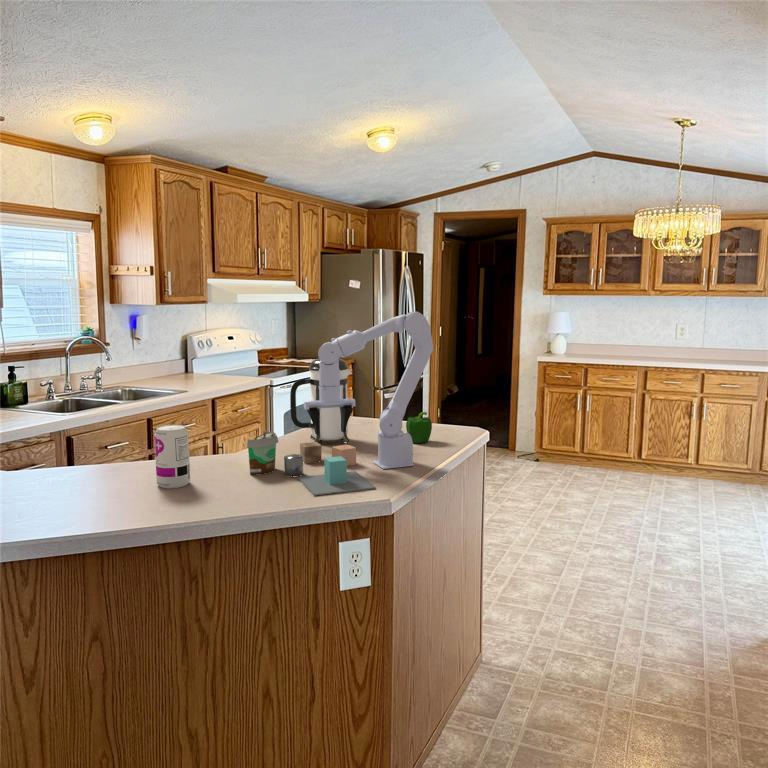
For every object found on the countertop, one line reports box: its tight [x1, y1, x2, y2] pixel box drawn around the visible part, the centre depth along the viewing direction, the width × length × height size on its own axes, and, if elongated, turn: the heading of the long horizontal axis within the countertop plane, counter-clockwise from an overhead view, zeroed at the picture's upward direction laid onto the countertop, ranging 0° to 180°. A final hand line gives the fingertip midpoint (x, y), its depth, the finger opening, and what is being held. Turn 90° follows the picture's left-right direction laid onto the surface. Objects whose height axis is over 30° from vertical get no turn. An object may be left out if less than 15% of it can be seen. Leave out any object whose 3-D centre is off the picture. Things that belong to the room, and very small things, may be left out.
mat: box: [297, 470, 377, 497], centre depth 172 cm, size 16×16×1 cm
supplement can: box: [153, 424, 191, 489], centre depth 171 cm, size 8×8×15 cm
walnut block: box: [299, 441, 322, 464], centre depth 195 cm, size 5×5×5 cm
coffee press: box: [289, 358, 353, 445], centre depth 217 cm, size 17×16×30 cm
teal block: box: [323, 456, 348, 485], centre depth 172 cm, size 4×4×6 cm
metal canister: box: [283, 453, 304, 478], centre depth 181 cm, size 5×5×5 cm
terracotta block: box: [331, 443, 357, 466], centre depth 191 cm, size 5×5×5 cm
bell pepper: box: [405, 411, 433, 444], centre depth 218 cm, size 8×8×10 cm
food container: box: [246, 430, 279, 476], centre depth 184 cm, size 12×6×10 cm, turn 168°
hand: (330, 432), depth 189 cm, fingers open, 7 cm apart
